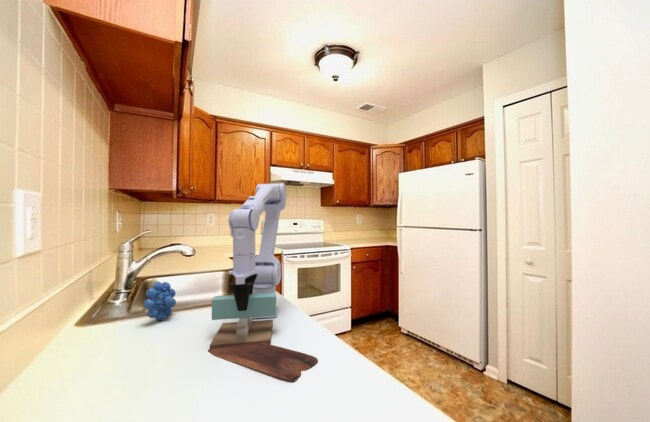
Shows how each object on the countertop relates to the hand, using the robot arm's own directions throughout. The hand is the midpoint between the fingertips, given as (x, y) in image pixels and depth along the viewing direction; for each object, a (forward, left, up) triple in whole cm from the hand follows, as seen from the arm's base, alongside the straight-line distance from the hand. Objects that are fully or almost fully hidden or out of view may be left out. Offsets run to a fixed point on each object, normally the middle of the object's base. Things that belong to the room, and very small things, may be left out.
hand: (244, 305), depth 71 cm
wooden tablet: (+12, +5, -8) cm, 15 cm away
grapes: (-15, -26, -8) cm, 31 cm away
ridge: (0, 0, -8) cm, 8 cm away
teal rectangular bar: (0, 0, -3) cm, 3 cm away
